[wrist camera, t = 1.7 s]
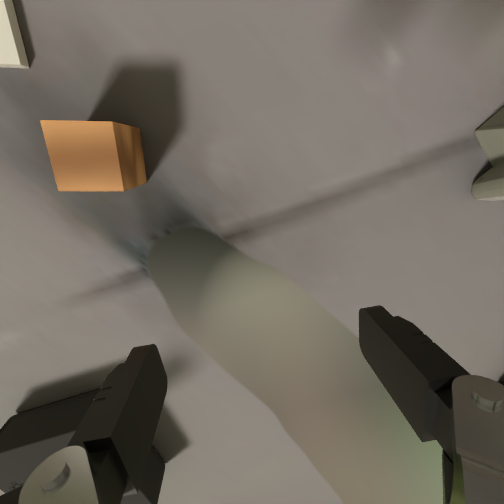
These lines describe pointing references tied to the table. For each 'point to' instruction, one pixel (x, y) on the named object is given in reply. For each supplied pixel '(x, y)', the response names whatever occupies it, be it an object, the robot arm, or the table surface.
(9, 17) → the pad
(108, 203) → the table surface
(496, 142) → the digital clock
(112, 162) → the orange block
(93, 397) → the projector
